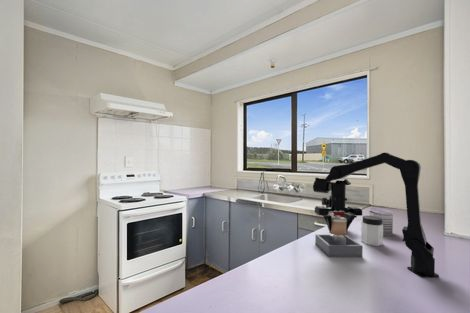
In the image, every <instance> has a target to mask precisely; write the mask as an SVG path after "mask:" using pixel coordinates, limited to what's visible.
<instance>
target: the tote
mask: <svg viewBox="0 0 470 313" xmlns="http://www.w3.org/2000/svg"><path fill="white" fill-rule="evenodd" d="M329 234H330V233H329ZM329 234H325V233H324V234H321V233H320V234H318V233H317V234H315V235H314V236H315V243H314V244H315V245H316V247H317V248H319V250H321V251H322V252H323V253H324V254H325V255H326V256H327V257H328V258H363V253H364V252H363V245H362V244H360V243H359V242H358V241H356V240H354V239H352V237H350V236H348V235H347V234H346V235H344V236H343V237H345V238H346V245H330V244H329Z"/></svg>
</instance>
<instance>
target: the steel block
mask: <svg viewBox="0 0 470 313" xmlns="http://www.w3.org/2000/svg"><path fill="white" fill-rule="evenodd" d="M329 244H330V245H346V238H345V237H343V236H338V235H333V234H331V233H329Z"/></svg>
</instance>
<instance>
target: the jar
mask: <svg viewBox="0 0 470 313" xmlns="http://www.w3.org/2000/svg"><path fill="white" fill-rule="evenodd" d="M360 225H361V227H360V230H361V232H360V233H361V235H360V241H361V242H362V243H364V244H366V245H367V246H375V247H379V246H382V245H383V244H384V235H383V224H382V218H380V217H376V216H369V215H362V221H361V224H360Z"/></svg>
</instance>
